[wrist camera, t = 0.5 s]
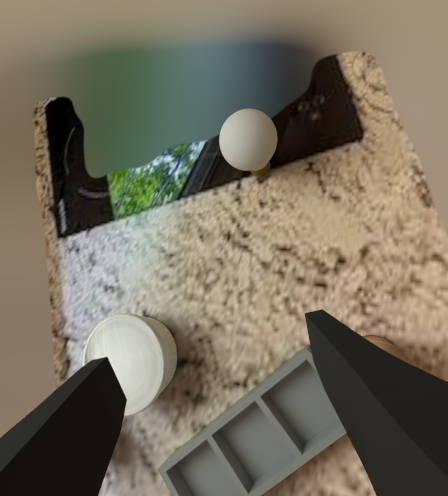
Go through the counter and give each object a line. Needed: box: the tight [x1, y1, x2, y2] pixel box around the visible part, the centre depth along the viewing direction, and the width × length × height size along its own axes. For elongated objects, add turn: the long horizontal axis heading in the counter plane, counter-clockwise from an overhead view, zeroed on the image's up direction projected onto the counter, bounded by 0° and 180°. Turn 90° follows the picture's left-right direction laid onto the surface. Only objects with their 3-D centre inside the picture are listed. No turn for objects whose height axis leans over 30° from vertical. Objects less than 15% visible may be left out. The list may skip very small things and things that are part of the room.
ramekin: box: [83, 313, 177, 416], centre depth 34 cm, size 11×11×5 cm
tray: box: [158, 345, 346, 496], centre depth 30 cm, size 8×21×3 cm, turn 130°
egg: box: [363, 335, 411, 364], centre depth 26 cm, size 4×4×7 cm
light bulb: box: [219, 109, 277, 176], centre depth 31 cm, size 6×6×10 cm
